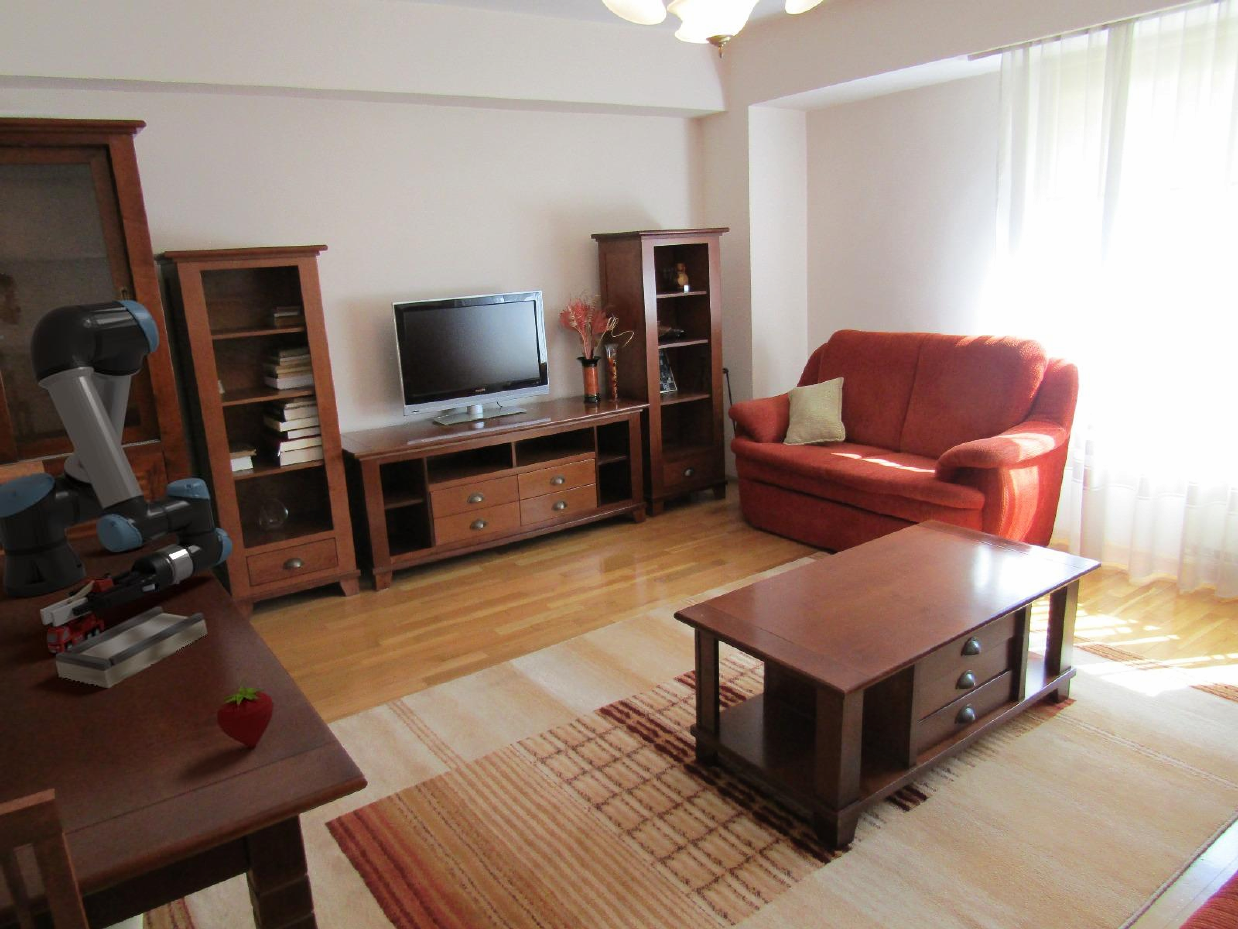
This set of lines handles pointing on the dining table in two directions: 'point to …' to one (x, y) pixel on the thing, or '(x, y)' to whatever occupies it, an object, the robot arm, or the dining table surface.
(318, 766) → the dining table surface
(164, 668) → the dining table surface
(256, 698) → the strawberry
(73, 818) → the dining table surface
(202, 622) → the dock
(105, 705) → the dining table surface
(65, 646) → the toy fire truck
